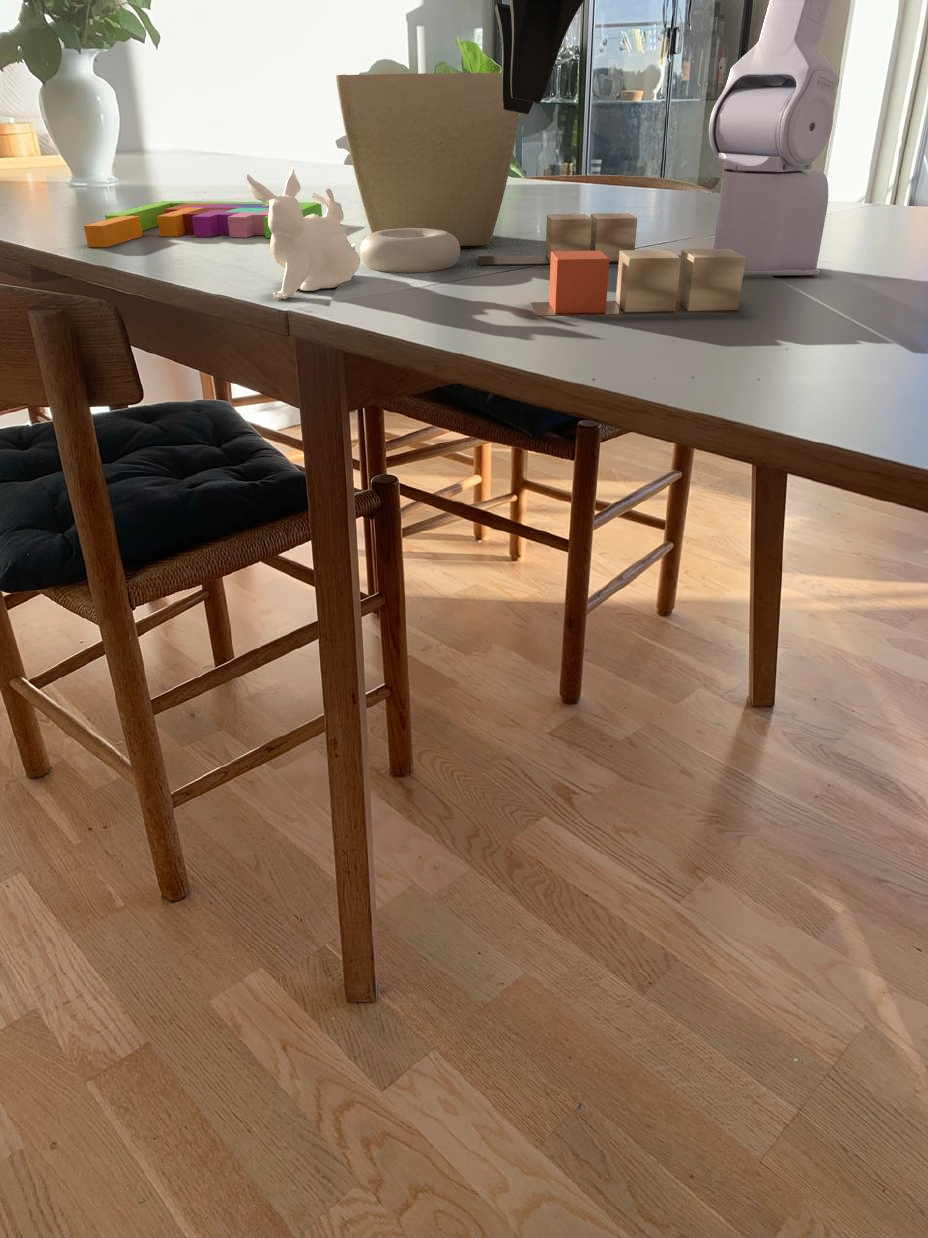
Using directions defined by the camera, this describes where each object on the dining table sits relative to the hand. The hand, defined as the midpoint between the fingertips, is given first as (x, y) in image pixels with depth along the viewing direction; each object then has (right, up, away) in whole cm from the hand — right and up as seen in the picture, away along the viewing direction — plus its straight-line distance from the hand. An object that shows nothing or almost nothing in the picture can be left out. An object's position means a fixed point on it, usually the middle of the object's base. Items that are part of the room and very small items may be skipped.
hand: (520, 106), depth 68 cm
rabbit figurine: (-19, -8, +16) cm, 26 cm away
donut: (-10, -3, +23) cm, 25 cm away
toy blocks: (-37, +10, +46) cm, 60 cm away
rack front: (+9, -14, +5) cm, 17 cm away
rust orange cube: (+5, -13, +5) cm, 15 cm away
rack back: (+5, -2, +25) cm, 26 cm away
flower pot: (-8, +6, +39) cm, 40 cm away
